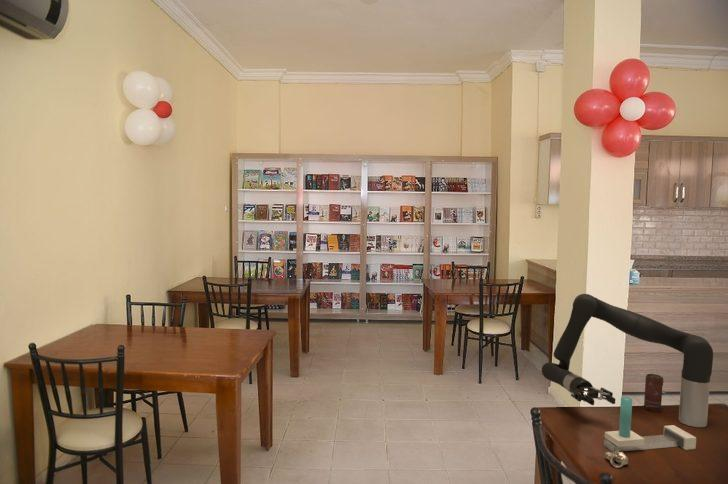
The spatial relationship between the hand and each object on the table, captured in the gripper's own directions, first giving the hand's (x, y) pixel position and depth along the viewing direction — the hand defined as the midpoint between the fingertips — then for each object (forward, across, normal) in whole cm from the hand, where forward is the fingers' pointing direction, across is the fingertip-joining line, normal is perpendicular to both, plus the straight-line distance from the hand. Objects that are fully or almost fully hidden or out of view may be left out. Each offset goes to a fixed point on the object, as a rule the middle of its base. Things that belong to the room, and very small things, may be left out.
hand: (604, 402), depth 187 cm
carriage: (+11, 0, +9) cm, 15 cm away
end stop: (+11, +22, +11) cm, 27 cm away
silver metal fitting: (+20, -9, +12) cm, 25 cm away
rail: (+11, +7, +11) cm, 18 cm away
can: (-16, +35, +12) cm, 40 cm away
